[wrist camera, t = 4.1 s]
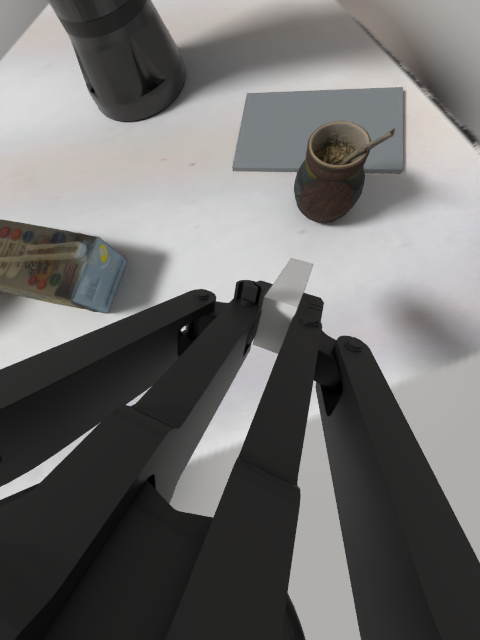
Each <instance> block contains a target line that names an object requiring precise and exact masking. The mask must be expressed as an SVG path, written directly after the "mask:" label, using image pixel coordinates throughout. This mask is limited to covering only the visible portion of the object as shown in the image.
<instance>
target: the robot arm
mask: <svg viewBox="0 0 480 640" xmlns="http://www.w3.org/2000/svg"><path fill="white" fill-rule="evenodd" d="M48 1H49V3H50V5H51V6H52V8H53V10H54V11H55V13H56V15H57V16H58V18H59V20H60V21H61V23H62V25H63V27H64V28H65V30H66V32H67V33H68V35H69V37H70V39H71V42H72V45H73V48H74V51H75V53H76V56H77V59H78V62H79V65H80V68H81V71H82V74H83V76H84V79H85V82H86V85H87V88H88V91H89V93H90V95H91V96H92V98H93V100H94V101H95V103H96V104H97V106H98V108H99V109H100V111H101V112H102V113H103V114H104V115H106V116H107V117H109V118H111V119H114V120H118V121H135V120H140V119H144V118H147V117H150V116H152V115H154V114H156V113H158V112H160V111H161V110H163V109H164V108H165V107H167V106H168V105H169V104H170V103H171V102H172V101H173V100H174V99H175V98H176V97H177V96H178V94H179V93H180V91H181V89H182V87H183V84H184V81H185V69H184V66H183V62H182V59H181V55H180V52H179V50H178V47H177V46H176V44H175V42H174V40H173V39H172V37H171V35H170V33H169V31H168V30H167V28H166V26H165V24H164V22H163V21H162V19H161V17H160V15H159V14H158V12H157V10H156V8H155V7H154V5H153V3H152V1H151V0H48ZM312 267H313V264H311V263H308V262H304V261H300V260H297V259H293V258H291V259H290V260H289V262H288V263H287V265H286V266H285V268H284V269H283V270H282V272H281V273H280V275H279V276H278V278H277V279H276V281H275V282H274V284H270V283H267V282H264V281H258V282H255V281H250V280H241V281H238V282H236V288H235V294H234V299H233V300H232V301H231V302H230V303H223V302H216V296H215V294H214V293H212V292H210V291H207V290H204V289H199V290H192V291H189V292H187V293H185V294H182V295H180V296H177V297H175V298H173V299H170V300H168V301H165V302H163V303H160V304H158V305H156V306H153V307H151V308H148V309H146V310H144V311H141V312H139V313H136V314H134V315H131V316H129V317H127V318H124V319H122V320H119V321H117V322H115V323H112V324H110V325H107V326H105V327H103V328H100V329H98V330H95V331H93V332H90V333H88V334H86V335H83V336H81V337H78V338H76V339H74V340H71V341H69V342H66V343H64V344H61V345H59V346H57V347H54V348H52V349H49V350H47V351H45V352H42V353H40V354H37V355H35V356H32V357H30V358H28V359H25V360H23V361H20V362H18V363H16V364H13V365H11V366H8V367H6V368H3V369H1V370H0V487H1V486H3V485H5V484H7V483H9V482H11V481H12V480H14V479H16V478H18V477H20V476H21V475H23V474H25V473H27V472H28V471H30V470H32V469H34V468H35V467H37V466H38V465H40V464H41V463H43V462H44V461H46V460H47V459H49V458H50V457H52V456H53V455H55V454H56V453H58V452H59V451H60V450H62V449H63V448H65V447H66V446H68V445H69V444H70V443H72V442H73V441H75V440H76V439H78V438H79V437H80V436H82V435H83V434H85V433H86V432H87V431H89V430H90V429H92V428H93V427H95V426H96V425H97V424H99V423H100V422H101V423H100V424H99V425H98V426H97V427H96V428H95V429H94V430H93V431H92V432H91V433H90V434H89V435H88V436H87V437H86V438H85V439H84V440H83V441H82V442H81V443H80V444H79V445H78V446H77V447H76V448H75V449H74V450H73V451H72V452H71V453H70V454H69V455H68V456H67V457H66V458H65V459H64V460H63V461H62V462H61V463H60V464H59V465H58V466H57V467H56V468H55V469H54V470H53V471H52V472H51V473H50V474H49V475H48V476H47V477H46V478H45V479H44V480H43V481H42V482H41V483H39V484H36V485H34V486H32V487H29V488H27V489H25V490H23V491H20V492H18V493H16V494H13V495H11V496H9V497H6V498H4V499H2V500H0V640H305V636H304V633H303V630H302V627H301V624H300V621H299V618H298V616H297V613H296V611H295V608H294V606H293V603H292V602H291V599H290V597H289V595H288V593H287V591H288V583H289V577H290V569H291V563H292V556H293V549H294V541H295V534H296V527H297V521H298V514H299V506H300V488H299V487H298V486H297V480H298V472H299V466H300V460H301V454H302V448H303V441H304V435H305V429H306V423H307V417H308V411H309V405H310V398H311V392H312V386H313V380H314V381H316V392H317V398H318V403H319V409H320V414H321V420H322V425H323V431H324V436H325V442H326V448H327V453H328V458H329V464H330V470H331V475H332V481H333V486H334V492H335V498H336V503H337V509H338V514H339V520H340V525H341V531H342V537H343V542H344V547H345V553H346V559H347V564H348V570H349V575H350V581H351V587H352V592H353V597H354V602H355V609H356V613H357V620H358V625H359V631H360V636H361V640H480V563H479V561H478V559H477V557H476V555H475V553H474V551H473V549H472V547H471V545H470V543H469V541H468V539H467V537H466V535H465V533H464V531H463V529H462V528H461V526H460V524H459V522H458V520H457V518H456V516H455V514H454V512H453V510H452V508H451V506H450V504H449V502H448V500H447V498H446V496H445V495H444V492H443V491H442V489H441V487H440V485H439V483H438V481H437V479H436V477H435V475H434V473H433V471H432V469H431V467H430V465H429V463H428V461H427V459H426V458H425V456H424V454H423V452H422V450H421V448H420V446H419V444H418V442H417V440H416V438H415V436H414V434H413V432H412V430H411V429H410V426H409V424H408V423H407V420H406V419H405V417H404V415H403V413H402V411H401V409H400V407H399V405H398V403H397V401H396V399H395V397H394V395H393V393H392V391H391V389H390V387H389V385H388V383H387V381H386V380H385V378H384V376H383V374H382V372H381V370H380V368H379V366H378V364H377V362H376V360H375V358H374V356H373V354H372V352H371V350H370V349H369V347H368V346H367V345H366V344H365V343H363V342H362V341H361V340H359V339H357V338H355V337H350V336H340V337H339V338H338V339H337V340H335V339H333V338H331V337H329V336H328V335H326V334H325V333H324V332H323V331H322V324H321V316H322V311H323V305H324V302H323V301H322V299H321V298H319V297H316V296H313V295H309V294H306V293H304V291H305V288H306V285H307V282H308V279H309V276H310V273H311V270H312ZM184 326H186V330H184V331H182V332H181V329H182V328H183V327H184ZM253 339H254V342H253V345H256V346H259V347H261V348H264V349H267V350H270V351H272V352H275V353H278V356H277V359H276V361H275V364H274V367H273V369H272V372H271V374H270V377H269V380H268V382H267V385H266V387H265V390H264V392H263V395H262V398H261V400H260V403H259V405H258V408H257V411H256V413H255V416H254V418H253V421H252V423H251V426H250V429H249V431H248V434H247V436H246V439H245V441H244V444H243V447H242V449H241V452H240V454H239V457H238V458H237V460H236V462H235V464H234V467H233V469H232V472H231V474H230V477H229V479H228V482H227V485H226V487H225V490H224V492H223V495H222V497H221V500H220V502H219V505H218V507H217V510H216V512H215V515H214V518H212V517H206V516H201V515H196V514H191V513H185V512H180V511H177V510H175V509H174V508H172V507H171V506H170V504H169V503H170V501H171V498H172V495H173V493H174V490H175V487H176V484H177V482H178V480H179V478H180V476H181V474H182V472H183V470H184V469H185V467H186V465H187V463H188V461H189V460H190V458H191V456H192V454H193V452H194V450H195V449H196V447H197V445H198V443H199V441H200V440H201V438H202V436H203V434H204V432H205V431H206V429H207V427H208V425H209V423H210V422H211V420H212V418H213V416H214V414H215V412H216V411H217V409H218V407H219V405H220V403H221V402H222V400H223V398H224V396H225V394H226V393H227V391H228V389H229V387H230V385H231V383H232V382H233V380H234V378H235V376H236V374H237V373H238V371H239V369H240V367H241V365H242V364H243V362H244V360H245V358H246V356H247V354H248V353H249V351H250V348H251V343H252V341H253ZM151 386H152V387H151ZM150 387H151V388H150ZM148 388H150V389H149V390H148V391H147V392H146V393H145V394H144V396H143V397H142V398H141V399H140V400H139V401H138V402H137V403H136V404H135V405H133V406H127V405H126V404H127V403H129V402H130V401H131V400H133V399H134V398H136V397H137V396H139V395H140V394H141V393H143V392H144V391H146V390H147V389H148Z"/></svg>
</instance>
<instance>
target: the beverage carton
mask: <svg viewBox="0 0 480 640" xmlns="http://www.w3.org/2000/svg"><path fill="white" fill-rule="evenodd" d="M126 263H127V260H126V258H124V257H123V256H121V254H120V253H118V252H117V251H116V250H114V249H113V248H112V247H110V246H109V245H108V244H107V243H106V242H104V241H103V240H102V239H101V238H99V237H95V236H89V235H85V234H81V233H73V232H69V231H64V230H58V229H53V228H47V227H42V226H36V225H30V224H25V223H19V222H13V221H7V220H1V219H0V291H2V292H6V293H10V294H15V295H20V296H24V297H28V298H33V299H37V300H41V301H46V302H50V303H55V304H60V305H65V306H71V307H76V308H81V309H87V310H90V311H93V312H101V313H108V312H109V309H110V306H111V303H112V301H113V298H114V295H115V292H116V290H117V287H118V285H119V282H120V279H121V277H122V274H123V271H124V269H125V266H126Z"/></svg>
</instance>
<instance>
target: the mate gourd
mask: <svg viewBox="0 0 480 640" xmlns="http://www.w3.org/2000/svg"><path fill="white" fill-rule="evenodd" d="M394 133H395V128H394V129H393V130H391V131H389V132H387V133H386V134H385V135H383V136H382V137H379V138H378V139H375V140H374V141H372V142H371V139H370V136H369V134H368V132H367V131H366V130H365V129H364V128H363V127H361V126H360V125H358V124H355V123H353V122H347V121H343V120H342V121H334V122H330V123H327V124H324V125H322V126H320V127H319V128H317V129H316V130H315V131H314V132H313V133H312V134H311V136H310V138H309V140H308V145H307V151H306V159H305V160H304V161H303V163H302V165H301V166H300V168H299V170H298V172H297V176H296V179H295V185H294V192H295V199H296V202H297V206H298V208H299V210H300V211H301V213H303V215H305V216H306V217H307V218H308V219H310V220H313V221H316V222H321V223H326V222H332V221H334V220H336V219H338V218H340V217H342V216H344V215H345V214H346V213H347V212H348V211H349V210H350V209H351V208H352V207H353V206H354V204H355V203H356V202H357V200H358V198H359V196H360V195H361V193H362V189H363V185H364V179H365V174H364V164H365V162H366V159H367V157H368V155H369V152H370V150H371V149H372V148H374V147H375V146H377V145H378V144H380V143H382V142H384V141H385V140H387V139H388V138H390V137H393V136H394Z"/></svg>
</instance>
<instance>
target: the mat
mask: <svg viewBox="0 0 480 640" xmlns="http://www.w3.org/2000/svg"><path fill="white" fill-rule="evenodd" d="M342 120H343V121H347V122H353V123H355V124H358V125H360V126H361V127H363V128H364V129H365V130H366V131H367V132H368V134H369V136H370V139H371V142H372V141H374V140H375V139H378V138H379V137H382V136H383V135H385V134H386V133H387V132H389V131H391V130H393V129H394V128H395V133H394V136H393V137H390V138H388V139H387V140H385V141H384V142H382V143H380V144H378V145H377V146H375V147H374V148H372V149H371V150H370V152H369V155H368V157H367V159H366V162H365V164H364V173H401V172H402V170H403V87H395V88H370V89H345V90H320V91H295V92H269V93H247V97H246V102H245V107H244V112H243V117H242V122H241V127H240V132H239V137H238V142H237V147H236V152H235V157H234V162H233V167H232V168H233V171H287V172H298V170H299V168H300V166H301V165H302V163H303V161H304V160H305V159H306V151H307V145H308V140H309V138H310V136H311V134H312V133H313V132H314V131H315V130H316V129H317V128H319V127H320V126H322V125H324V124H327V123H330V122H334V121H342Z"/></svg>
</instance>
